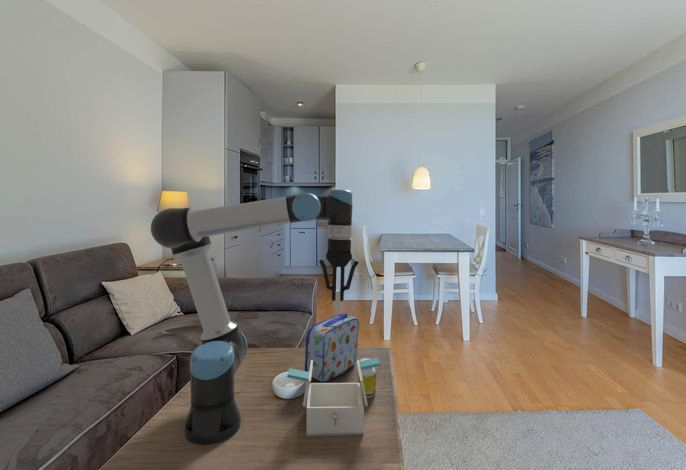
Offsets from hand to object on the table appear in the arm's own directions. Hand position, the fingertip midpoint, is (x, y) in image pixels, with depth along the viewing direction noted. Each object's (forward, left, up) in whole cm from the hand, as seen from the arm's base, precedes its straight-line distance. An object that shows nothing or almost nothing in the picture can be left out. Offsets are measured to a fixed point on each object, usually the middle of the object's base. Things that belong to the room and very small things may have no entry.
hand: (337, 310), depth 114 cm
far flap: (+7, -11, -18) cm, 23 cm away
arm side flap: (-8, -11, -18) cm, 23 cm away
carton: (-1, -12, -30) cm, 33 cm away
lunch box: (-1, +21, -31) cm, 37 cm away
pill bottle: (+10, +4, -31) cm, 32 cm away
